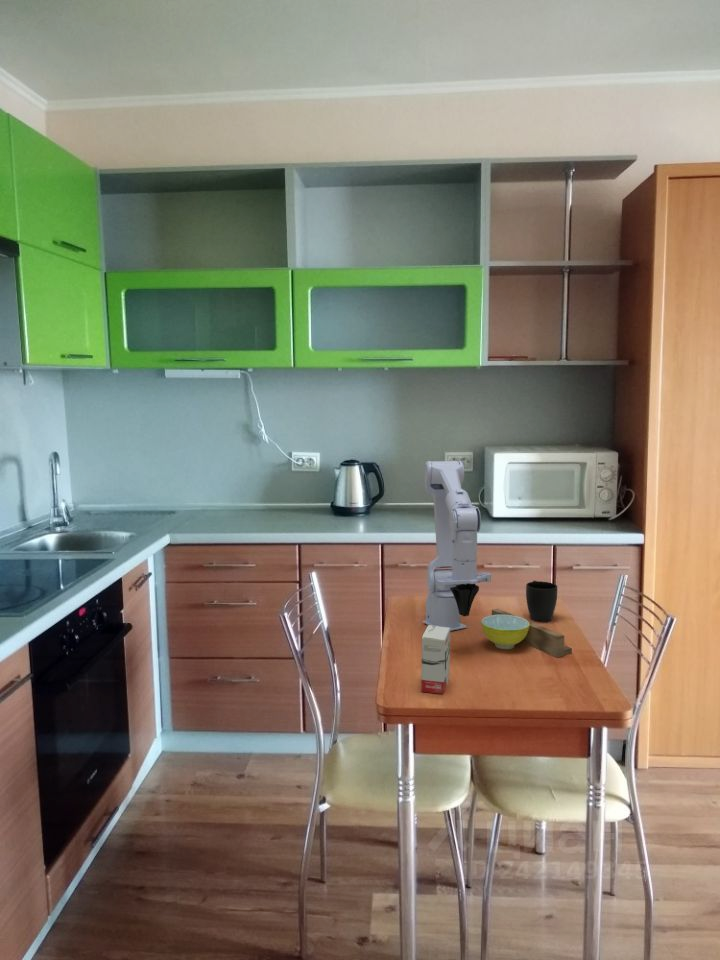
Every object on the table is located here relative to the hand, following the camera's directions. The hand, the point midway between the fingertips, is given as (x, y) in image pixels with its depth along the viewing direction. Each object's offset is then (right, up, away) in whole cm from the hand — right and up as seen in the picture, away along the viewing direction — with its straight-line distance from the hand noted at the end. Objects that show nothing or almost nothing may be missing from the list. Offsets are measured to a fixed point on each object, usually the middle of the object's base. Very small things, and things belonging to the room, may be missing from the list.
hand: (463, 614), depth 164 cm
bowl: (+11, -9, +5) cm, 15 cm away
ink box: (-9, -12, -17) cm, 23 cm away
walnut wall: (+18, -8, +9) cm, 22 cm away
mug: (+25, -6, +28) cm, 38 cm away
